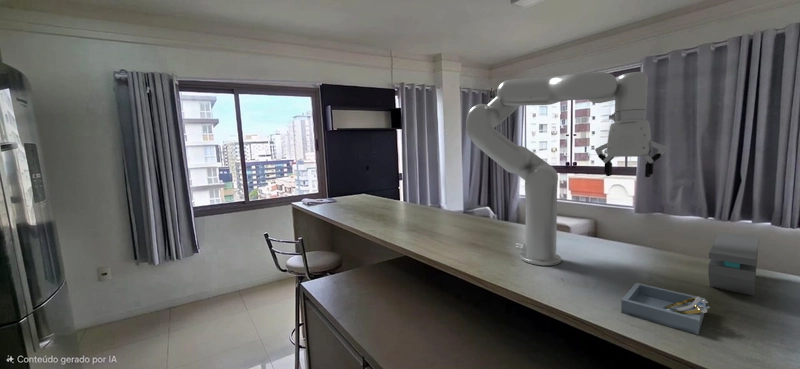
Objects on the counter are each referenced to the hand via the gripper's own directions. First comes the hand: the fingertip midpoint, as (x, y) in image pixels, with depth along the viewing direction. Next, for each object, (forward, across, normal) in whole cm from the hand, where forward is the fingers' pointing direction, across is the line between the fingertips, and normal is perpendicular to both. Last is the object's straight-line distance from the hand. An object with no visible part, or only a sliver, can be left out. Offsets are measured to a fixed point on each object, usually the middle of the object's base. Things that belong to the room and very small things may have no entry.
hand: (627, 176), depth 96 cm
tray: (+28, +13, -24) cm, 39 cm away
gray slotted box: (+29, +23, +6) cm, 37 cm away
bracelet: (+27, +13, -24) cm, 39 cm away
